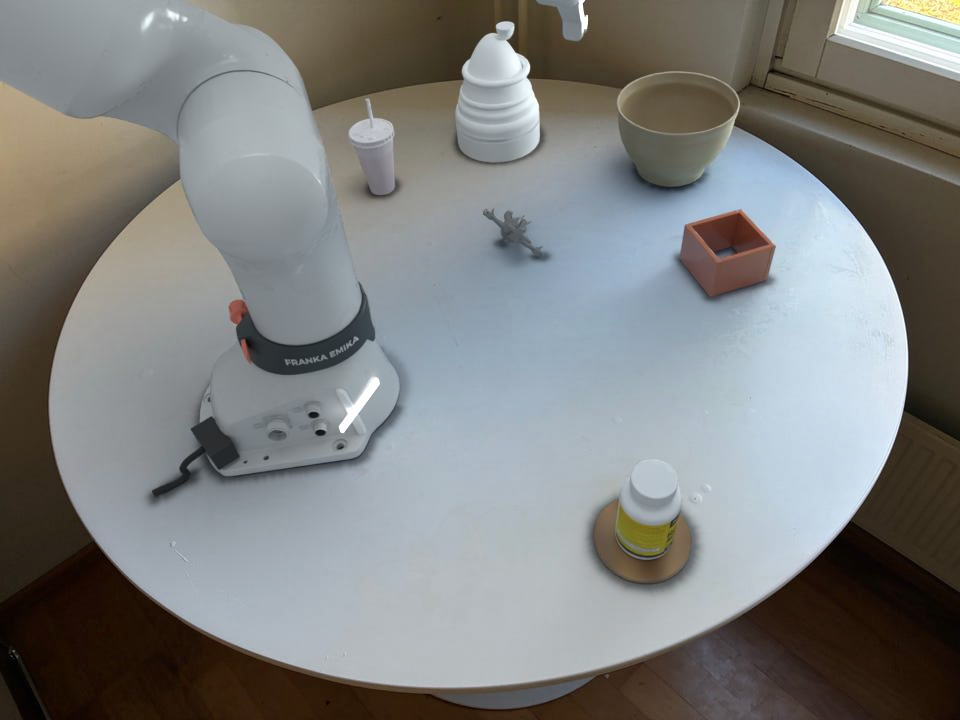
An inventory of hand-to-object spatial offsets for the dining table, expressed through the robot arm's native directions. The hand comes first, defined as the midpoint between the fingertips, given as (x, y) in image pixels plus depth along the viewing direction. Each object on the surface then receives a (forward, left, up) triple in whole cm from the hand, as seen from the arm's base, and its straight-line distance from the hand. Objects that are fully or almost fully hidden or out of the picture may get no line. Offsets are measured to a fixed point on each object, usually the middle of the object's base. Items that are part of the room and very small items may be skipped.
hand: (594, 14), depth 71 cm
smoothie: (-19, +31, -34) cm, 50 cm away
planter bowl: (+21, +18, -34) cm, 44 cm away
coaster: (-9, -34, -34) cm, 49 cm away
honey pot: (+1, +36, -34) cm, 50 cm away
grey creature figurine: (-6, +11, -34) cm, 37 cm away
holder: (+17, -4, -34) cm, 38 cm away
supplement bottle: (-9, -34, -34) cm, 49 cm away
